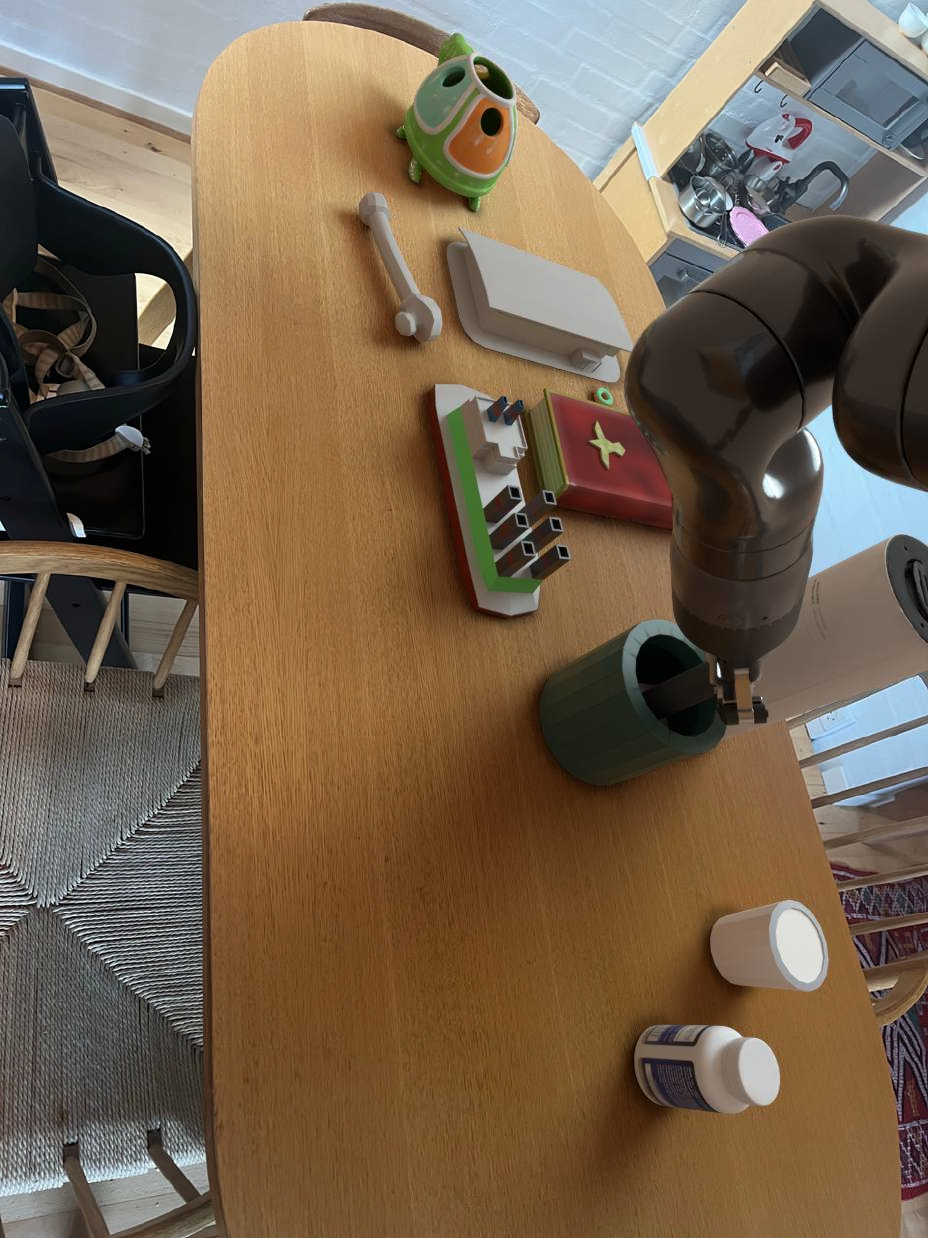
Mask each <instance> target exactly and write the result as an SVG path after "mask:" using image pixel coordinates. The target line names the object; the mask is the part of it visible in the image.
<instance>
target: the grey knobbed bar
mask: <svg viewBox="0 0 928 1238" xmlns="http://www.w3.org/2000/svg"><path fill="white" fill-rule="evenodd" d="M386 200H387V199H386V198H385V197H384V195H383V194H382V193H381V192H379V191H378V192H377V191H370V192H366V193H365V194H364V195H363V196H362V197H361V198H360V201H359V203H358V214H359V218H360V220H361V222H362V223H363V224H364V225H365V226H367V227H369V229H370V232H371V234H372V235H371V236H372V238H373V241H374V243H375V245H376V248H377V251H378V253H379V256H380V258H381V261H382V263H383V266H384V268H385V270H386V272H387V274H388V277H389V279H390V281H391V283H392V286H393V288H394V290H395V293H396V294H397V297H398V299H399V301H400V304H399V306H398V308H399V312H398V313H397V314H396V316H395V317H394V321H395V322H394V323H395V328H396V330H397V331H398V333H399V334H400V335H401V336H405V337H410V336H413V337H414V338H415V339H416V340H417V341H418V342H419V343H430V342H434V341H437V340H438V338H439V337H440V336H441V332H442V327H443V318H442V310H441V308H440V307H439V305H438V304H437V302H436V301H435V300H434V299H433V298H432V297H430V296H427V295H424V294H421V292H420V290H419V287H418V285H417V284H416V282H415V280H414V278H413V276H412V273H411V271H410V269H409V267H408V265H407V263H406V261H405V259H404V257H403V254H402V253H401V250H400V248H399V245H398V243H397V241H396V239H395V236H394V233H393V230H392V228H391V225H390V221H391V219H392V215H391V212H390V208H389V206H388V203H387V201H386Z"/></svg>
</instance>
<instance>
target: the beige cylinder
mask: <svg viewBox="0 0 928 1238" xmlns="http://www.w3.org/2000/svg"><path fill="white" fill-rule="evenodd" d="M926 671H928V545H927V544H926V543H925V542H924V541H922V540H921V539H918V538H917V537H916V536H913V535H910V534H908V533H901V532H898V533H896V534H893V535H891V536H889V537H887V538H885V539H884V540H882V541H879V542H878V543H876V544H874V545H871V546H870V547H868V548H865V549H863V550H861V551H860V552H858V553H856V554H853V555H851V556H849V557H847V558H845V559H843V560H841V561H839V562H837V563H835V564H833V565H831V566H830V567H827V568H825V569H823V570H821V571H819V572H817V573H815V574H813V575H811V576H808V581H807V585H806V589H805V593H804V598H803V602H802V606H801V610H800V615H799V618H798V621H797V624H796V626H795V628H794V630H793V631H792V633H791V634H790V635H789V637H788V638H787V639H786V640H785V641H784V642H783V643H782V644H780V645H779V646H778V647H776V648H775V649H773V650H772V651H770V652H769V654H768V657H767V658H765V659H764V664H763V675H762V679H761V680H760V681H758V682H755V683H754V687H755V691H753V696H761V697H762V703H763V704H765V707H766V710H768V714H769V717H768V718H767V723H764V724H746V725H729V726H727V727H726V731H725V734H724V736H723V738H722V739H721V740H720V742H723V741H726V740H728V739H731V738H734V737H738V736H740V735H744V734H746V733H749V732H752V731H756V730H758V729H762V728H764V727H767V726H770V725H773V724H776V723H778V722H782V721H784V720H788V719H790V718H793V717H795V716H799V715H802V714H805V713H808V712H810V711H813V710H816V709H819V708H823V707H825V706H828V705H830V704H833V703H837V702H839V701H840V702H841V701H843V700H845V699H849V698H851V697H854V696H856V695H859V694H863V693H866V692H869V691H872V690H875V689H877V688H880V687H883V686H887V685H889V684H891V683H895V682H897V681H900V680H903V679H907V678H909V677H912V676H915V675H918V674H920V673H923V672H926ZM753 696H752V697H753Z"/></svg>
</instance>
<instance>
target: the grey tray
mask: <svg viewBox="0 0 928 1238" xmlns="http://www.w3.org/2000/svg"><path fill="white" fill-rule="evenodd" d="M457 230H458V231H459V232H460V234H461V235H462V237H463V238H464V239H465V241H466V243H465V242H460V241H452V242H451V243H450V244H448V245H447V246H446V260H447V266H448V271H449V274H450V279H451V284H452V285H451V286H452V290H453V294H454V297H455V298H454V299H455V303H456V310H457V314H458V318H459V321H460V324H461V326H462V328H463V330H464V332H465V333H466V335H467V336H468V338H470V339H471V340H472V341H473V342H474V343H475V344H477V345H478V346H480V347H483V348H485V349H487V350H491V351H493V352H494V351H495V352H498V353H502V354H505V355H508V356H513V357H516V358H520V359H522V360H523V359H524V360H527V361H530V362H533V363H537V364H541V365H543V366H548V367H551V368H555V369H558V370H562V371H566V372H569V373H573V374H576V375H579V376H583V377H587V378H590V379H592V380H593V379H594V380H597V381H600V382H605V383H608V384H609V383H610V384H611V383H617V382H618V380H619V379H620V378H621V369H620V368H621V367H620V365H619V360H618V358H617V354H618V353H619V352H620V351H624V352H627V353H630V354H631V352H632V349H633V347H634V343H633V340H632V337H631V334H630V332H629V329H628V328H627V325H626V323H625V320H624V318H623V316H622V314H621V311H620V309H619V308H618V305H617V303H616V302H615V300H614V298H613V297H612V295H611V293H610V291H609V290H608V289H607V287H606V286H605V285H604V284H603V283H602V281H600V279H599V278H597V277H596V276H595V277H594V276H592V275H589V274H588V273H587V274H586V273H584V272H581V271H579V270H576V269H573V268H571V267H568V266H565V265H563V264H560V263H558V262H554V261H551V260H549V259H546V258H544V257H541V256H538V255H535V254H533V253H531V252H528V251H526V250H523V249H520V248H517V247H515V246H511V245H510V244H507V243H503V242H501V241H498V240H496V239H493V238H490V237H488V236H485V235H482V234H479V233H478V232H477V233H476V232H475V231H471V230H469V229H466V228H464V227H461V226H458V227H457Z"/></svg>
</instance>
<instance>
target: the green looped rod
mask: <svg viewBox="0 0 928 1238" xmlns="http://www.w3.org/2000/svg"><path fill="white" fill-rule="evenodd" d="M613 398H614V397H613V395H612V393H610V391H609V390H608V389H606V388H605V387H598V388H596V390H595V391H594V392H593V399H594V402H596V403H599V404H602V405H606V406H609V407H612V405H613V402H614V399H613Z"/></svg>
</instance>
